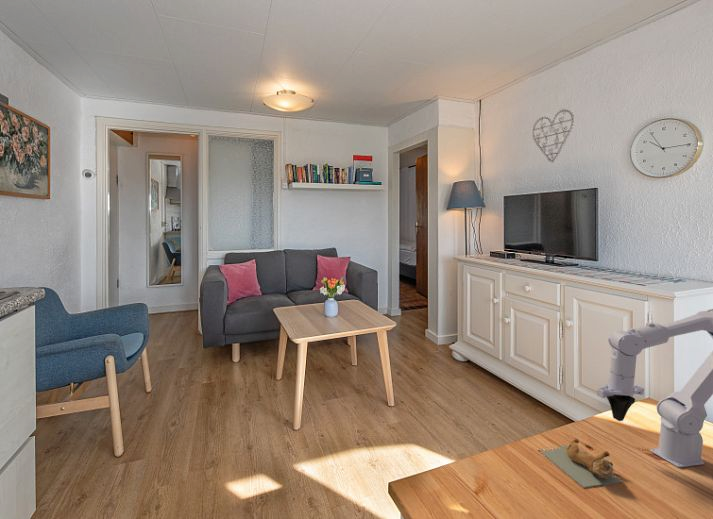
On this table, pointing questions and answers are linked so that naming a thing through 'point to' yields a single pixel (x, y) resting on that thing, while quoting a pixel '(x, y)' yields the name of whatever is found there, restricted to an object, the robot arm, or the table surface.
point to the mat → (577, 469)
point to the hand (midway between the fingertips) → (618, 419)
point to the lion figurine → (590, 460)
